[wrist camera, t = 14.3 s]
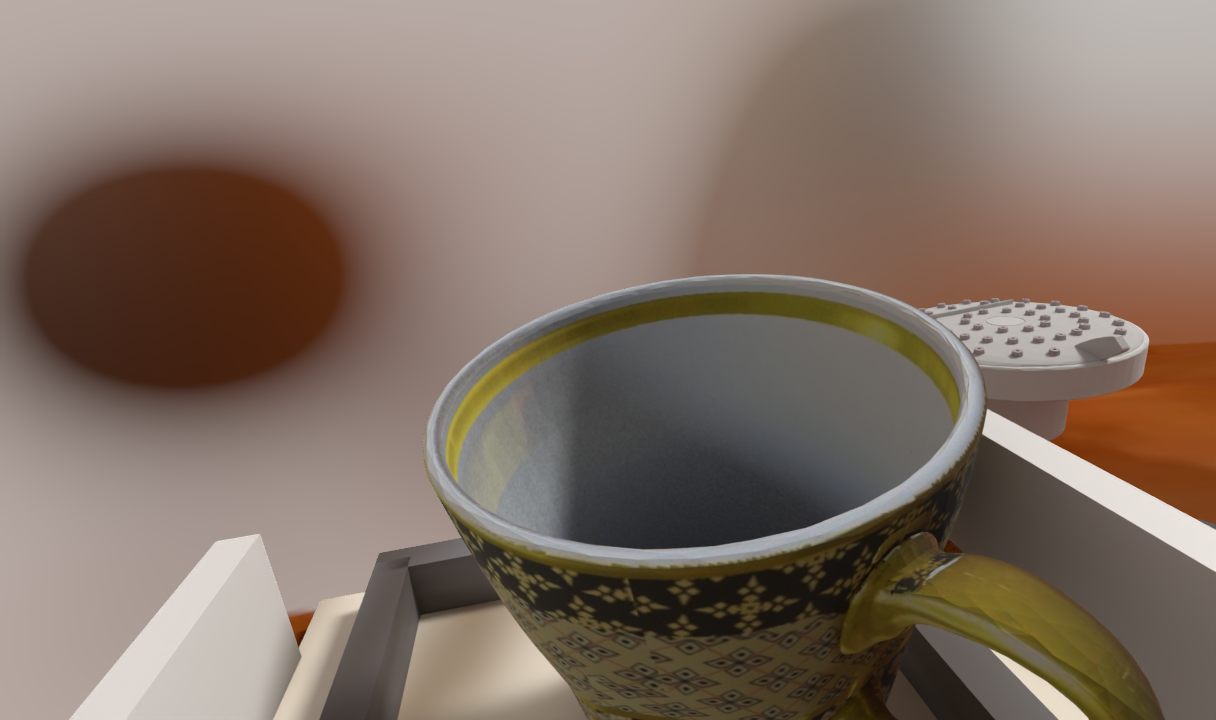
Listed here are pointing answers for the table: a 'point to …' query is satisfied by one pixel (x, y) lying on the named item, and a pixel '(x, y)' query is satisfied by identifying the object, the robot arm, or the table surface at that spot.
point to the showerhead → (1045, 356)
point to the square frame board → (530, 686)
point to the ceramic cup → (744, 504)
